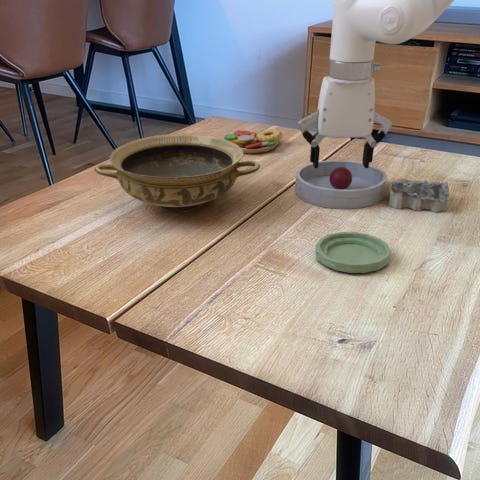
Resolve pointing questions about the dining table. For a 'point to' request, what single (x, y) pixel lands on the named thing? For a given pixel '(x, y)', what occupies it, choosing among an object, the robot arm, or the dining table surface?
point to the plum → (340, 178)
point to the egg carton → (419, 195)
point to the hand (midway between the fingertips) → (340, 165)
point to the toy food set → (255, 140)
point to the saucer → (353, 252)
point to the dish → (323, 194)
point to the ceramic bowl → (177, 169)
